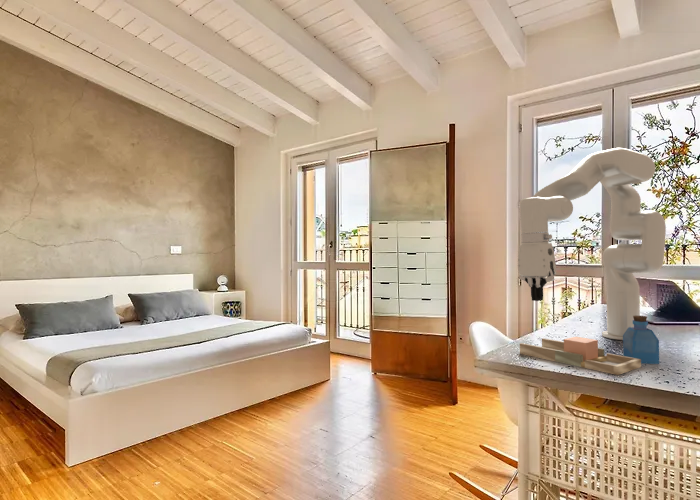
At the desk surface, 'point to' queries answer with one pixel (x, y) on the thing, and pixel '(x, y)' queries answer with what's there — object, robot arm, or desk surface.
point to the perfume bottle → (641, 342)
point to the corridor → (581, 357)
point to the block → (582, 347)
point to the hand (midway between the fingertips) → (537, 300)
